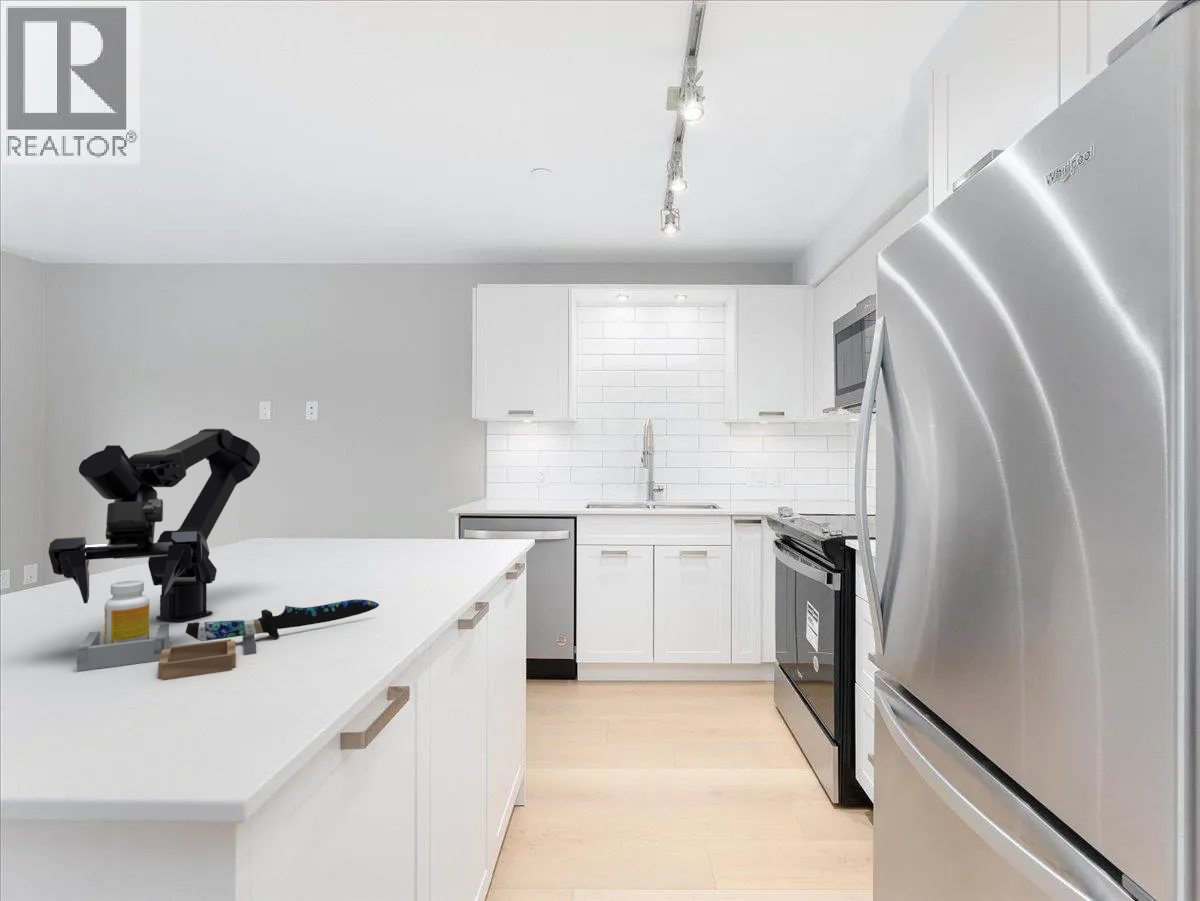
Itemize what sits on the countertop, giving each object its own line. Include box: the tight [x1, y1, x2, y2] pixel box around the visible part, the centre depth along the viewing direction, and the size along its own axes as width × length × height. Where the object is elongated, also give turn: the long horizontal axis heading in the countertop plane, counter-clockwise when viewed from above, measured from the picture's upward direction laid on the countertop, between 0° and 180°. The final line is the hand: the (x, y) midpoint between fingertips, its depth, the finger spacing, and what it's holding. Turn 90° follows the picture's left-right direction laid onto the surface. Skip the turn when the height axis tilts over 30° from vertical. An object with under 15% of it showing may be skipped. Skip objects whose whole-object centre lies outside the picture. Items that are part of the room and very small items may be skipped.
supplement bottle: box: [103, 580, 150, 644], centre depth 96 cm, size 5×5×10 cm
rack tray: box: [76, 623, 170, 672], centre depth 96 cm, size 10×10×3 cm
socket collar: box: [157, 638, 237, 681], centre depth 92 cm, size 9×9×2 cm
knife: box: [185, 598, 380, 642], centre depth 108 cm, size 31×3×4 cm, turn 132°
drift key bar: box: [242, 634, 257, 655], centre depth 101 cm, size 8×2×1 cm, turn 30°
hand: (125, 598), depth 95 cm, fingers open, 9 cm apart
